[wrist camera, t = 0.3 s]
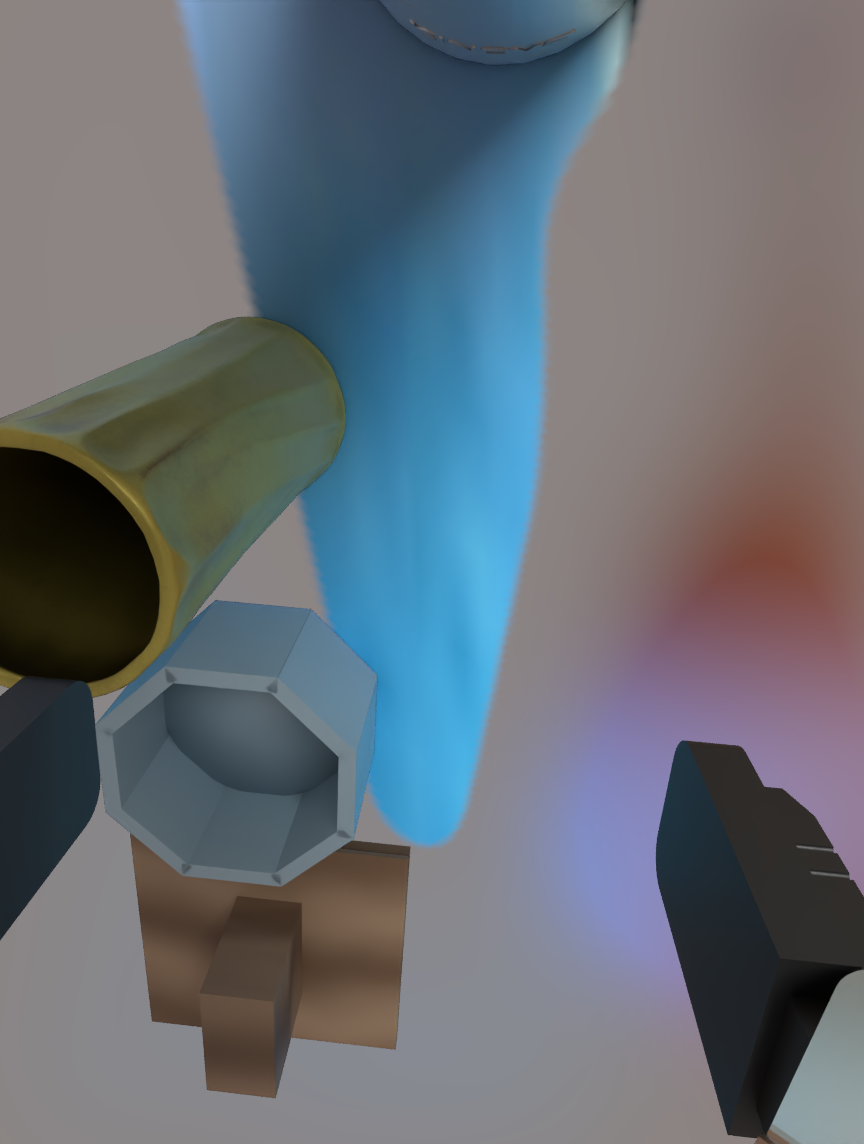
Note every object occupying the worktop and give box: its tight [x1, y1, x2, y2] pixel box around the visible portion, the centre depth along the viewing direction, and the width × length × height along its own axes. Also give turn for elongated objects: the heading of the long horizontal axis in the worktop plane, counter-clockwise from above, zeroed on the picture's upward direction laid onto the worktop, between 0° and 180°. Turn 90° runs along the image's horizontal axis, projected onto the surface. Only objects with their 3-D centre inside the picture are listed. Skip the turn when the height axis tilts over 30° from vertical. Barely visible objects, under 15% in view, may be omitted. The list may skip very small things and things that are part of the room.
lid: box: [130, 833, 410, 1098], centre depth 35 cm, size 12×12×6 cm
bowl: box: [95, 600, 377, 887], centre depth 29 cm, size 9×9×5 cm
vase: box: [0, 317, 346, 698], centre depth 20 cm, size 6×6×14 cm
